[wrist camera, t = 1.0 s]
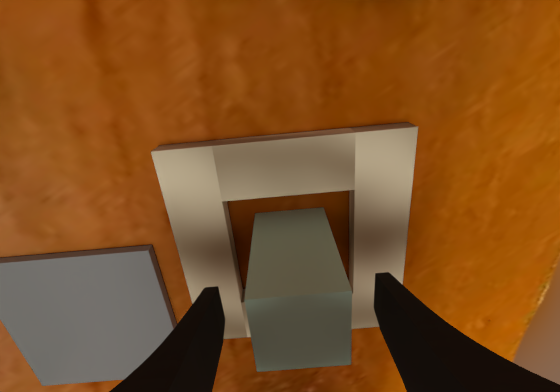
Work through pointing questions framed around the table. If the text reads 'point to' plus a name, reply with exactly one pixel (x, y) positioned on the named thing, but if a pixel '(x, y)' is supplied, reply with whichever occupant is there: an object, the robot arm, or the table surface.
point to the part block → (297, 293)
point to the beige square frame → (283, 182)
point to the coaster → (85, 312)
